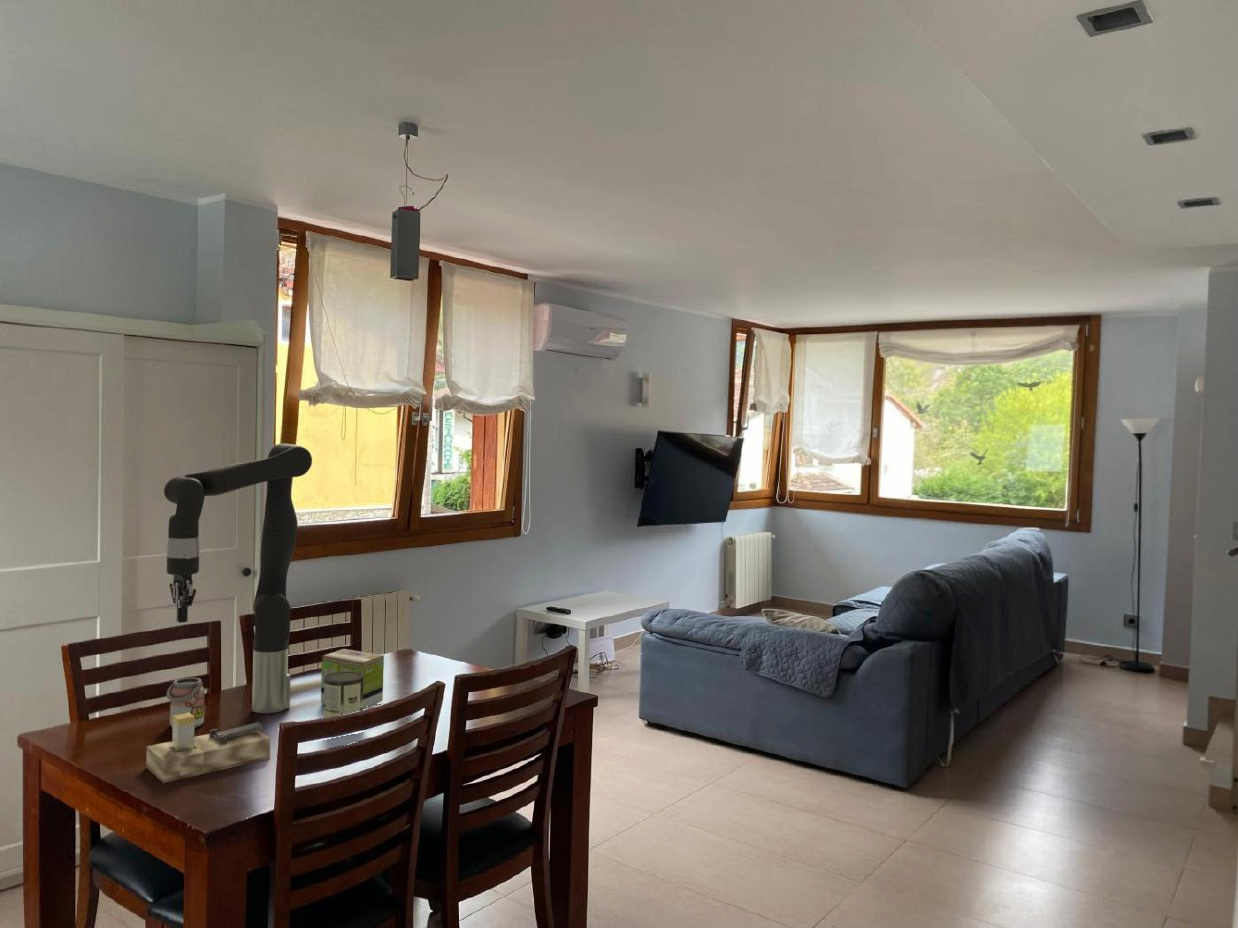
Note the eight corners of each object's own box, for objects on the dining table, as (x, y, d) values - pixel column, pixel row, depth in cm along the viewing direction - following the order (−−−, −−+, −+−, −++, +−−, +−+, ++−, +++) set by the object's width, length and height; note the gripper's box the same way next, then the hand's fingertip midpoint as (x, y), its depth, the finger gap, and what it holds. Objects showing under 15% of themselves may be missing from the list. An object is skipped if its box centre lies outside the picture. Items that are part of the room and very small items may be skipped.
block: (249, 745, 227) (250, 718, 227) (269, 758, 218) (270, 730, 218) (146, 767, 210) (146, 738, 210) (163, 782, 201) (164, 752, 201)
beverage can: (187, 733, 235) (188, 687, 234) (159, 730, 236) (160, 684, 236) (210, 722, 244) (211, 678, 243) (183, 719, 245) (184, 675, 245)
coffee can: (338, 720, 249) (339, 669, 248) (370, 725, 245) (371, 673, 245) (314, 731, 239) (315, 678, 238) (347, 736, 236) (348, 683, 235)
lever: (257, 726, 224) (256, 720, 224) (263, 730, 221) (263, 724, 221) (212, 738, 216) (212, 732, 216) (218, 742, 213) (218, 736, 213)
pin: (188, 761, 213) (189, 712, 212) (193, 765, 210) (194, 716, 210) (171, 764, 210) (172, 715, 210) (177, 769, 208) (178, 719, 207)
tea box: (319, 705, 261) (320, 654, 261) (342, 696, 271) (343, 647, 270) (362, 713, 256) (363, 661, 255) (383, 703, 265) (385, 653, 265)
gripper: (159, 552, 235) (157, 619, 236) (176, 558, 226) (175, 628, 226) (189, 551, 240) (188, 616, 241) (207, 556, 231) (206, 624, 231)
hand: (182, 621), depth 233 cm, fingers closed
